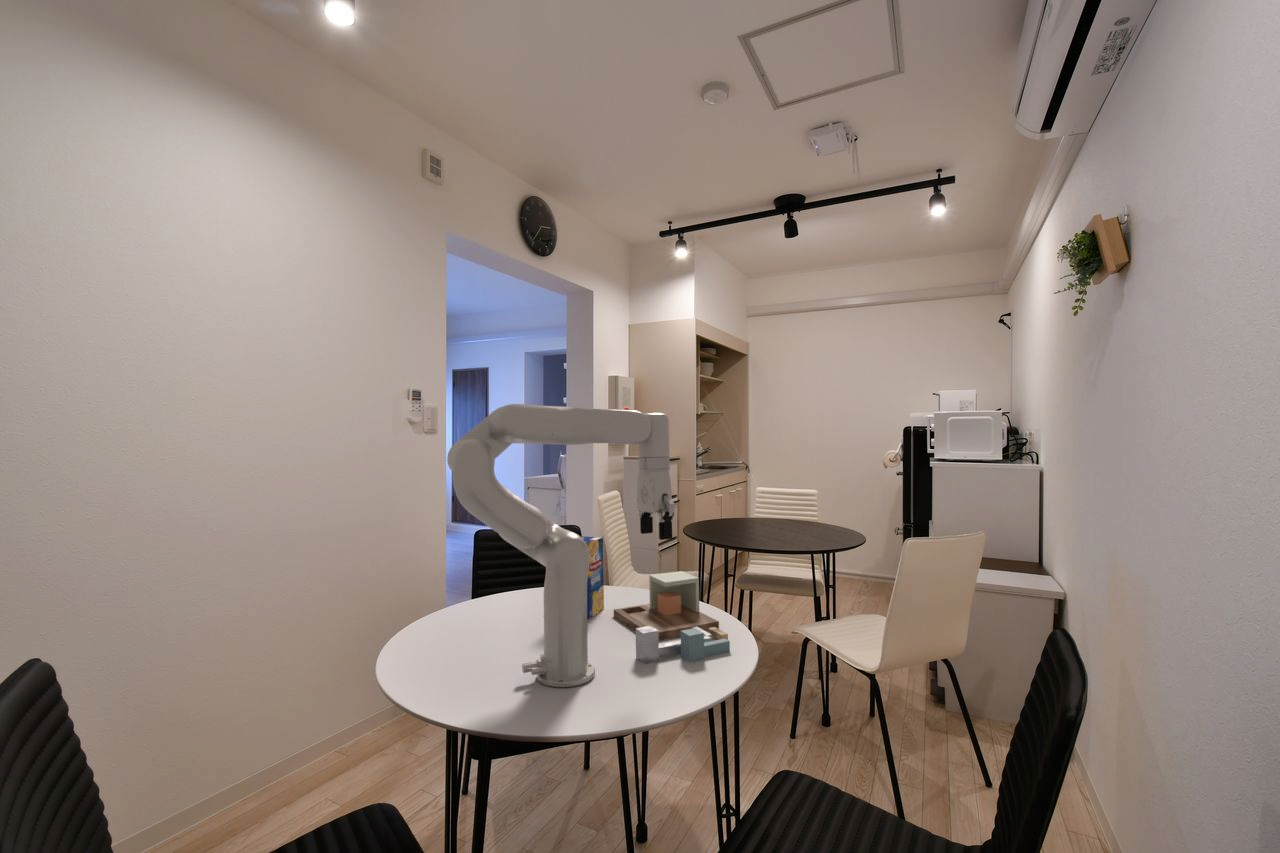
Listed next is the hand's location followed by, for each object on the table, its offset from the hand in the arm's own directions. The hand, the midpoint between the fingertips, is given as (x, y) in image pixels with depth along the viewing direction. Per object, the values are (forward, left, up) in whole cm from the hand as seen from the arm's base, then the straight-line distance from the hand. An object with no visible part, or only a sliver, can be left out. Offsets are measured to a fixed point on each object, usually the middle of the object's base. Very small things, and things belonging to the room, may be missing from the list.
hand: (655, 536), depth 134 cm
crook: (+6, +3, -29) cm, 29 cm away
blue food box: (-3, +41, -29) cm, 50 cm away
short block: (+19, +3, -29) cm, 35 cm away
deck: (+14, +22, -29) cm, 39 cm away
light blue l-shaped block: (+11, -4, -29) cm, 31 cm away
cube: (+16, +24, -27) cm, 39 cm away
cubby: (+19, +25, -27) cm, 41 cm away
